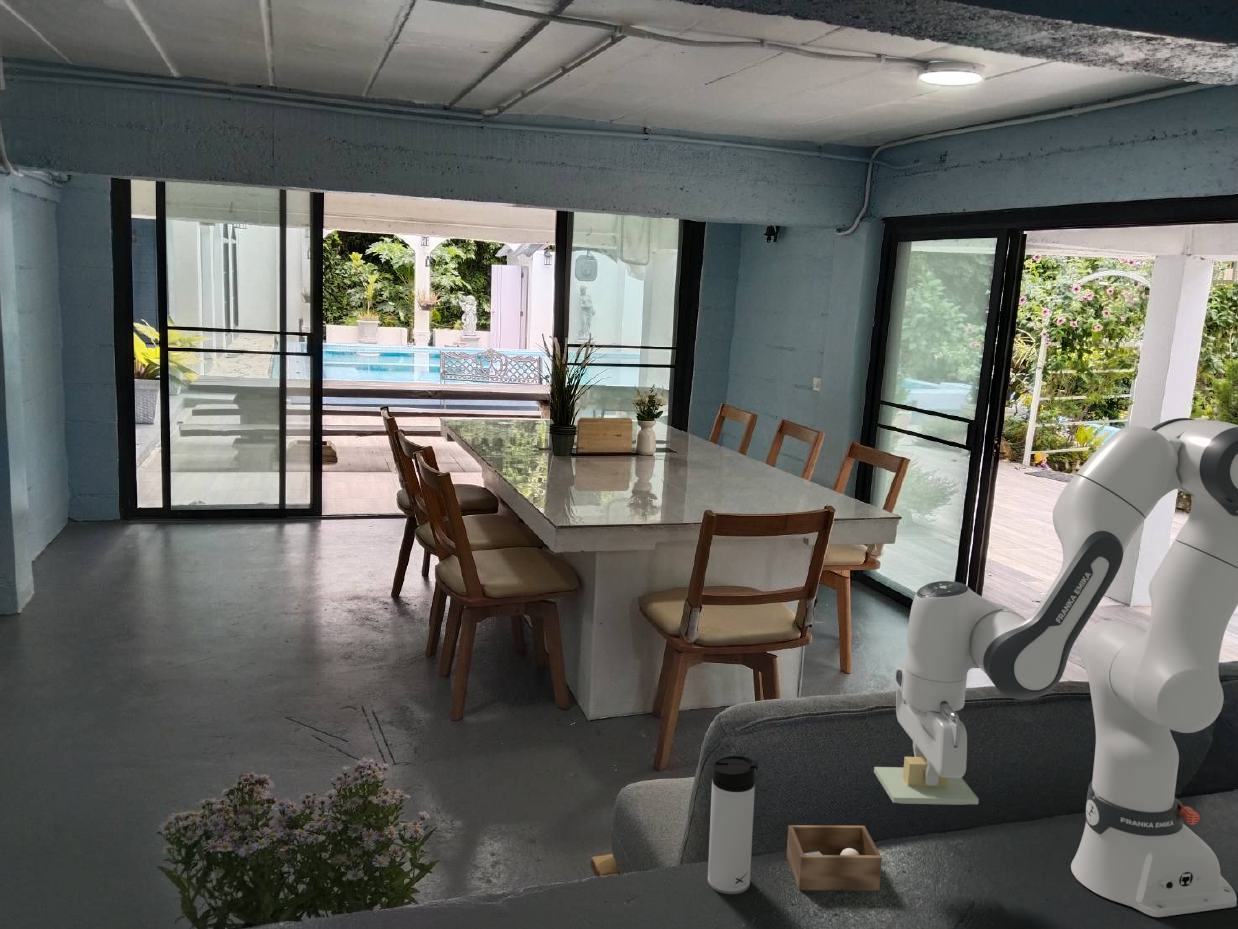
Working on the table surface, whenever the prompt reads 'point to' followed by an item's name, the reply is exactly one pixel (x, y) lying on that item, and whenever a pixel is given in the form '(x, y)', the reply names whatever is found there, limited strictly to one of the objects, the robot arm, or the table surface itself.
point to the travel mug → (731, 824)
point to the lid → (922, 785)
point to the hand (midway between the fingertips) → (925, 777)
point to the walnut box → (833, 858)
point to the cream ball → (849, 852)
